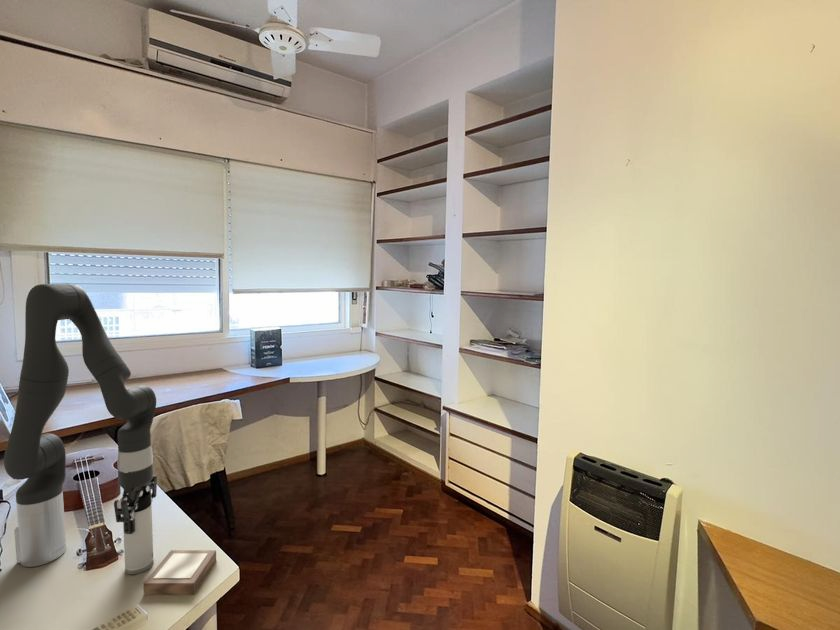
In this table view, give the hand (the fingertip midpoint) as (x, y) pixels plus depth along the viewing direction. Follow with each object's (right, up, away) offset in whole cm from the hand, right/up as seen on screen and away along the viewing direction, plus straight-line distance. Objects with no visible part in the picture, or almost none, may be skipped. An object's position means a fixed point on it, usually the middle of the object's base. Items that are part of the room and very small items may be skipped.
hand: (138, 524), depth 109 cm
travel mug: (0, -12, +1) cm, 12 cm away
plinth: (+13, -12, -2) cm, 18 cm away
